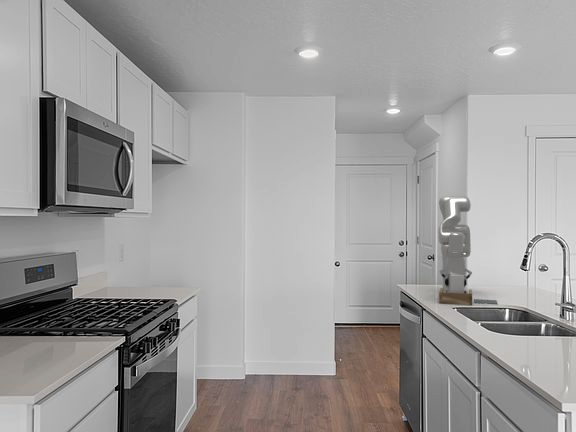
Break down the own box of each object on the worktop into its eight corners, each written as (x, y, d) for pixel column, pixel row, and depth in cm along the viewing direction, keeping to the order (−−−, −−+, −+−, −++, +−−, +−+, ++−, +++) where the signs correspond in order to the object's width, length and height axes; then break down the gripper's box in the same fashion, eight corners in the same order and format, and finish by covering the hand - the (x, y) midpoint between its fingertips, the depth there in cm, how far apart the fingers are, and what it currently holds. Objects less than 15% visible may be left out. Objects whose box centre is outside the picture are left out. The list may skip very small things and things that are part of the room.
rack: (440, 298, 291) (440, 288, 291) (471, 300, 285) (471, 289, 285) (439, 303, 275) (438, 292, 275) (472, 305, 269) (472, 294, 269)
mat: (473, 299, 287) (473, 299, 287) (496, 300, 283) (496, 300, 283) (473, 303, 275) (473, 302, 275) (497, 304, 271) (497, 303, 271)
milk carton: (464, 303, 274) (464, 268, 274) (451, 303, 275) (451, 268, 274) (460, 301, 282) (460, 267, 281) (447, 300, 282) (447, 267, 282)
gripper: (472, 255, 278) (472, 286, 279) (439, 254, 284) (439, 284, 285) (472, 256, 271) (472, 288, 272) (438, 255, 277) (438, 286, 277)
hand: (455, 286), depth 278 cm, fingers closed on milk carton, 8 cm apart
